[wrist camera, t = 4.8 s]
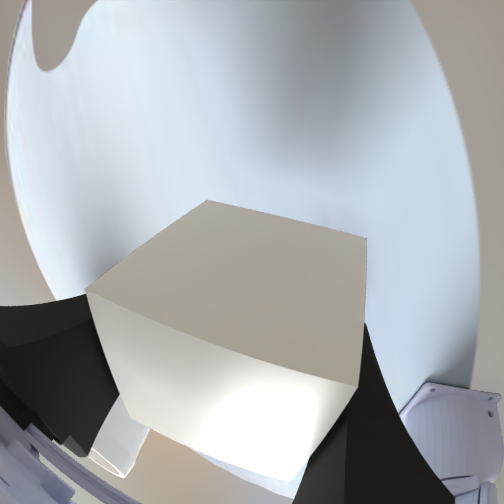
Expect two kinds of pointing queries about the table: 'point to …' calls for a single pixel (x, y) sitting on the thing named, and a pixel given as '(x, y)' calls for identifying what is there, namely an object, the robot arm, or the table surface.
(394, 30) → the table surface
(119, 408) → the foam cup
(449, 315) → the table surface
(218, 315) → the white cubic block
